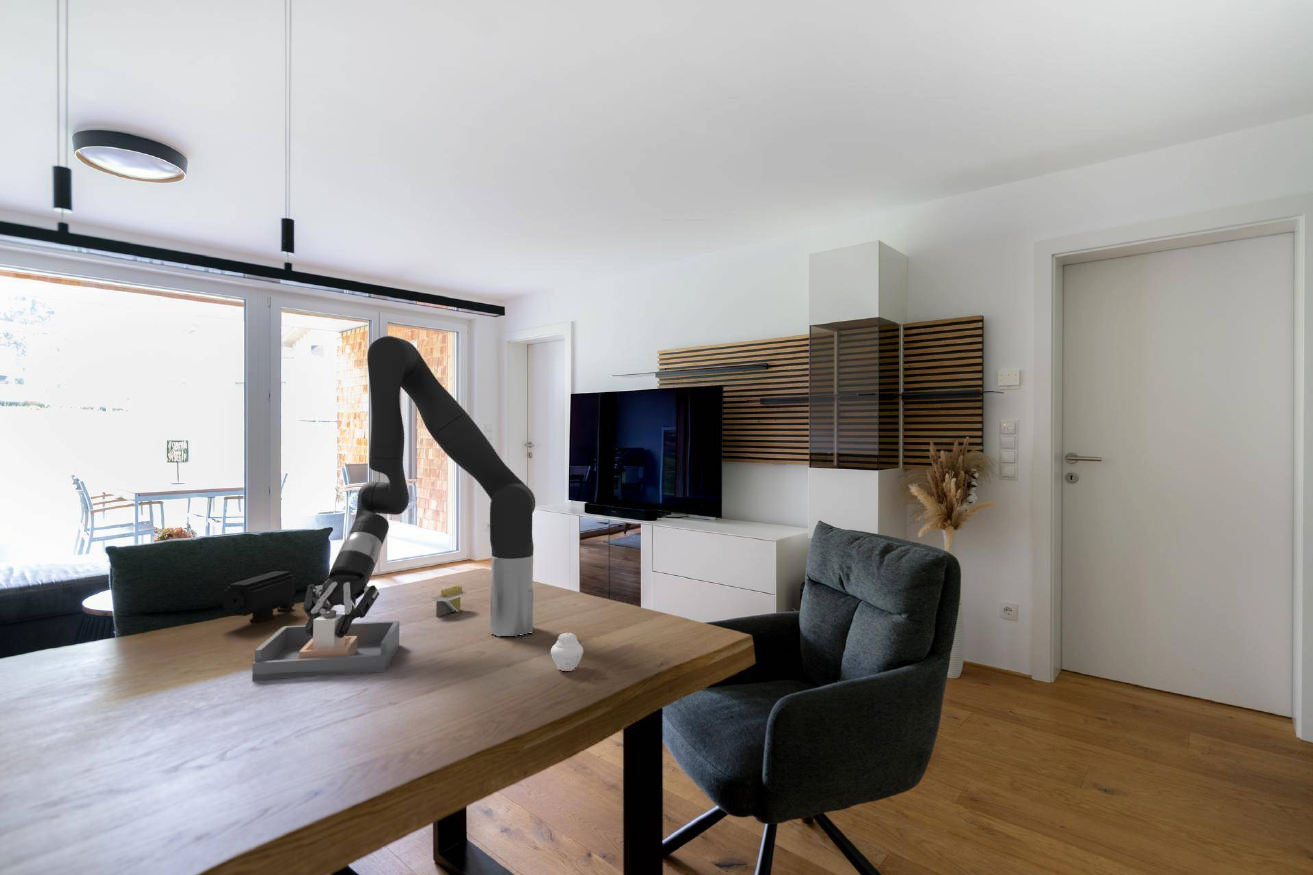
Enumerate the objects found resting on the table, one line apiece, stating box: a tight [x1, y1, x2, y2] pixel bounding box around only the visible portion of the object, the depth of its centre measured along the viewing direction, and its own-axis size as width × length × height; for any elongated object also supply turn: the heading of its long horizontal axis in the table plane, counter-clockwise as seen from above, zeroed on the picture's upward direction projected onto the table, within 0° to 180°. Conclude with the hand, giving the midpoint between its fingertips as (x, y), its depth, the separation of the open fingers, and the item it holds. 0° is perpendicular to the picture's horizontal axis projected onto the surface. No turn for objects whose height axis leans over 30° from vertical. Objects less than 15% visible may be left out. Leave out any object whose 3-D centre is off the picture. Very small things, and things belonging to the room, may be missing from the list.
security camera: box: [222, 570, 296, 624], centre depth 152 cm, size 7×18×10 cm, turn 174°
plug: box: [313, 609, 345, 650], centre depth 122 cm, size 4×4×9 cm
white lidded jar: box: [550, 632, 584, 670], centre depth 121 cm, size 6×6×7 cm
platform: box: [430, 585, 468, 618], centre depth 159 cm, size 12×18×7 cm, turn 157°
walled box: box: [251, 620, 400, 681], centre depth 124 cm, size 22×16×5 cm
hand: (324, 635), depth 120 cm, fingers open, 5 cm apart
